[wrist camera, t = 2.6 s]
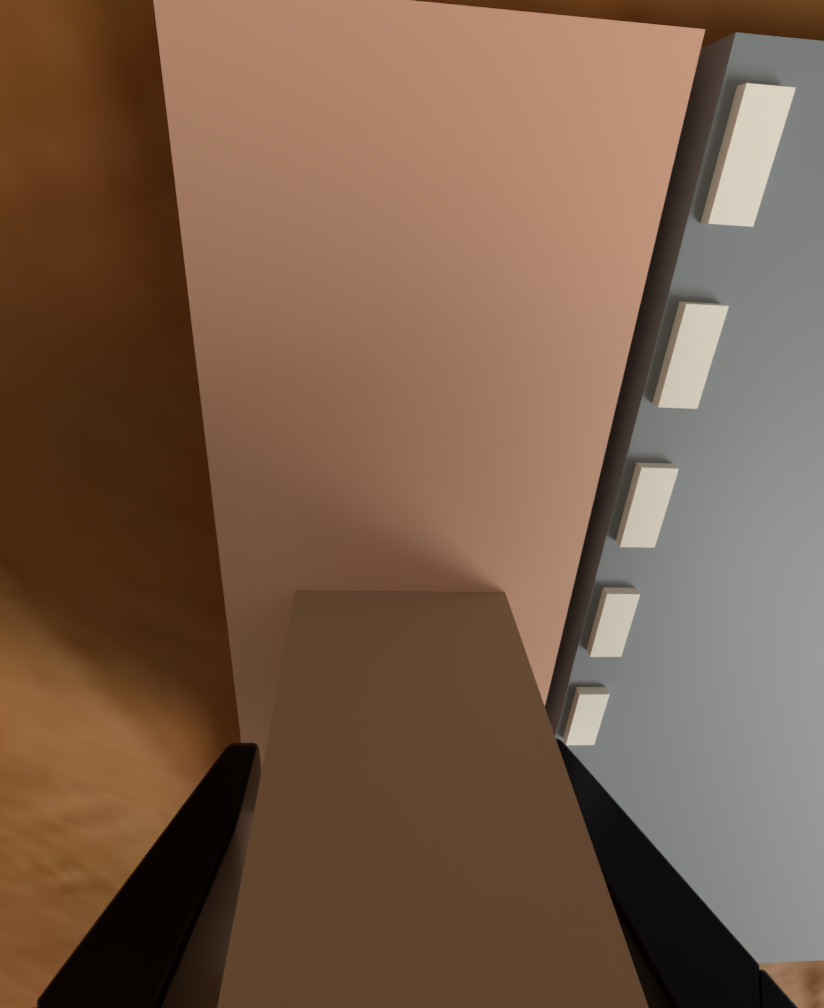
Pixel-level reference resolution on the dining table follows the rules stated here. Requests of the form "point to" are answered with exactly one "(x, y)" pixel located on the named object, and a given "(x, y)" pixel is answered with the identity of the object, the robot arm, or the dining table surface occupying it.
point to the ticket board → (719, 515)
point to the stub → (413, 466)
